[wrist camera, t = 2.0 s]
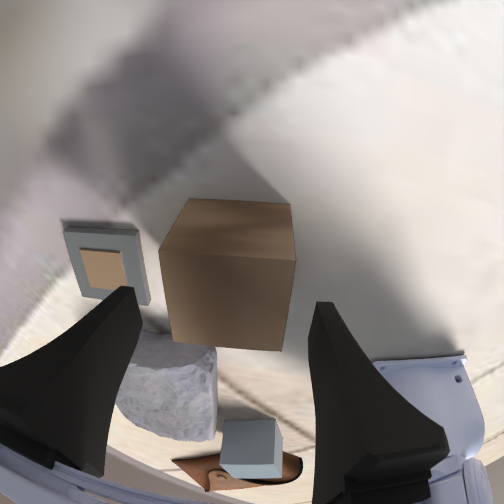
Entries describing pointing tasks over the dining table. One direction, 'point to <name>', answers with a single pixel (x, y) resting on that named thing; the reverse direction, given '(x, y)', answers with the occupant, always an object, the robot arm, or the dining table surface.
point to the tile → (107, 261)
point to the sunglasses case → (218, 478)
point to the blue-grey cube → (252, 449)
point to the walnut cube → (229, 273)
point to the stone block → (171, 388)
